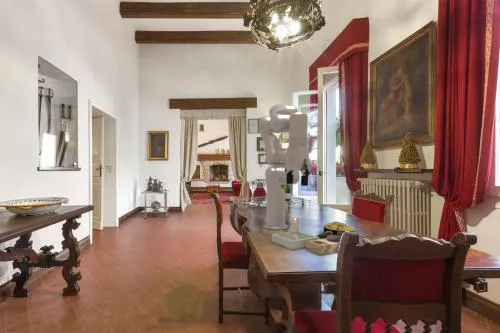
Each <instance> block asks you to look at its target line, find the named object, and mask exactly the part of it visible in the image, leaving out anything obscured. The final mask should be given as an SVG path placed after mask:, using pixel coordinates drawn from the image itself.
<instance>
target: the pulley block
mask: <svg viewBox="0 0 500 333" xmlns="http://www.w3.org/2000/svg"><path fill="white" fill-rule="evenodd" d="M345 231H350V232H354V233H356V232H359V230H355V227H354V226H351V225H349V224H346V223H344V222H340V221H332V222H328V223H325V224H324V225H323V231H322V232H321V233H319V234H317V235H315V236H316V237H319V239H324V238H327V235H338V236H340V239H342V238H341V236H342V234H343V233H344V232H345Z"/></svg>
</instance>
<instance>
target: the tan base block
mask: <svg viewBox="0 0 500 333" xmlns="http://www.w3.org/2000/svg"><path fill="white" fill-rule="evenodd" d="M341 240H342V239H341V238H340V236H338V235H327V238H323V239H317V240H310V241H306V248H305V251H307V252H309V253H311V254H315V255H317V256H325V255H332V254H337V252H338V249H339V245H340V241H341Z"/></svg>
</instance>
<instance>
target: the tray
mask: <svg viewBox="0 0 500 333" xmlns="http://www.w3.org/2000/svg"><path fill="white" fill-rule="evenodd" d="M316 236H317V235H312V234H309V233H306V232H302V231H300V230H299V240H293V241H292V240H291V231H284V232H277V233H271V243H272V244H275V245H278V246H280V247H283V248H286V249H288V250H289V251H297V250H303V249H306V241H310V240H317V239H319V237H316Z"/></svg>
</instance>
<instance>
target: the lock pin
mask: <svg viewBox="0 0 500 333" xmlns="http://www.w3.org/2000/svg"><path fill="white" fill-rule="evenodd" d="M290 229H291V231H290V232H291V240H292V241H293V240H299V231H300V218H299V217H291V228H290Z"/></svg>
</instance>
